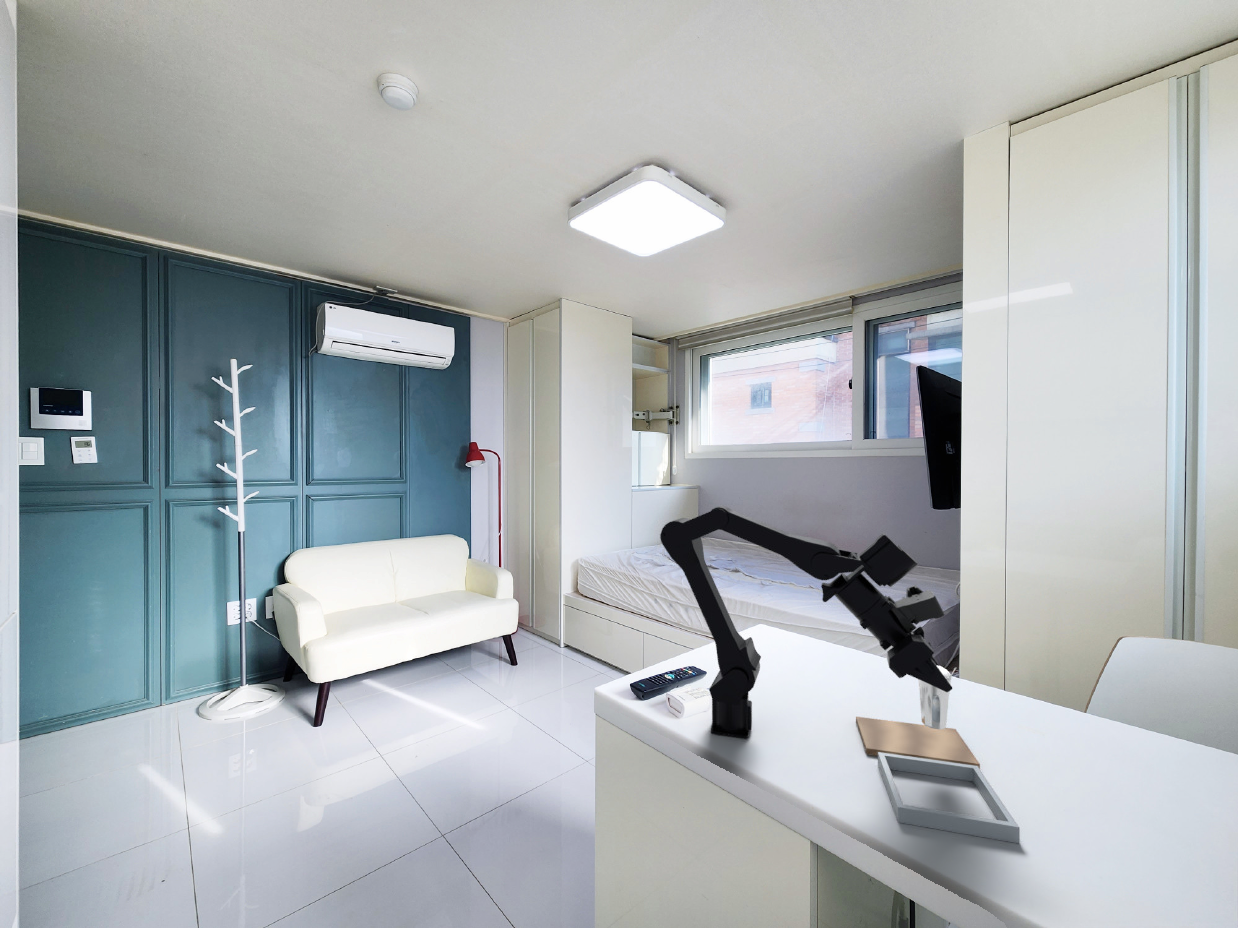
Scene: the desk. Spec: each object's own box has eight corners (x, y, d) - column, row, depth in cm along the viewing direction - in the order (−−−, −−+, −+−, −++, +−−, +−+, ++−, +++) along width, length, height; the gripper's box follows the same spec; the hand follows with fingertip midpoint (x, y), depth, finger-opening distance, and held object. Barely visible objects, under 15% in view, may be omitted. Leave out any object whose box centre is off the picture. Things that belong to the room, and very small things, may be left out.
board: (866, 754, 84) (866, 747, 84) (855, 721, 94) (855, 716, 94) (979, 770, 79) (979, 763, 79) (955, 734, 90) (955, 728, 90)
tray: (898, 821, 68) (898, 806, 68) (877, 764, 81) (877, 751, 81) (1019, 843, 64) (1019, 827, 64) (977, 779, 77) (977, 765, 77)
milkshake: (947, 737, 76) (947, 670, 76) (911, 721, 81) (911, 658, 81) (962, 729, 79) (963, 664, 79) (926, 714, 83) (926, 653, 83)
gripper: (916, 585, 73) (1010, 676, 69) (901, 562, 90) (976, 634, 86) (855, 633, 76) (941, 722, 72) (852, 602, 93) (921, 673, 89)
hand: (946, 683), depth 79 cm, fingers closed on milkshake, 4 cm apart
